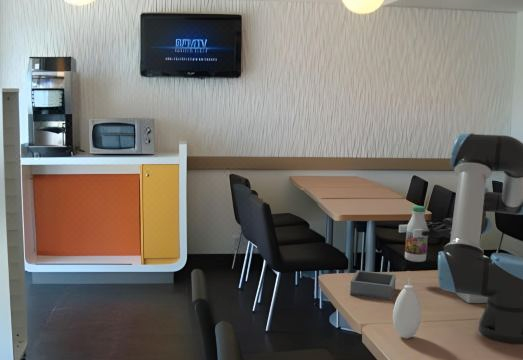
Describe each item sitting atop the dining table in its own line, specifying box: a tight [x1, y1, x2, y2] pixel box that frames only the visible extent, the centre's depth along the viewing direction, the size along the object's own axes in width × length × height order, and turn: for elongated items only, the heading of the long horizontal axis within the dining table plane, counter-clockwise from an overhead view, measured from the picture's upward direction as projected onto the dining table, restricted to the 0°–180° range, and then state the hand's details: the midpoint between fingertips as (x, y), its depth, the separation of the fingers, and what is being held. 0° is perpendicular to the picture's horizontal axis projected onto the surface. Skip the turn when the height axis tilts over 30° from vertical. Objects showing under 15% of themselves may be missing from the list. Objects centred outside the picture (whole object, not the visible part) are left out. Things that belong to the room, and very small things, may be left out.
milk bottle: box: [404, 205, 429, 263], centre depth 218 cm, size 8×8×20 cm
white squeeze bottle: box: [392, 276, 422, 339], centre depth 169 cm, size 8×8×18 cm
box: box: [349, 269, 397, 301], centre depth 209 cm, size 14×14×5 cm
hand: (406, 231), depth 216 cm, fingers closed on milk bottle, 8 cm apart
